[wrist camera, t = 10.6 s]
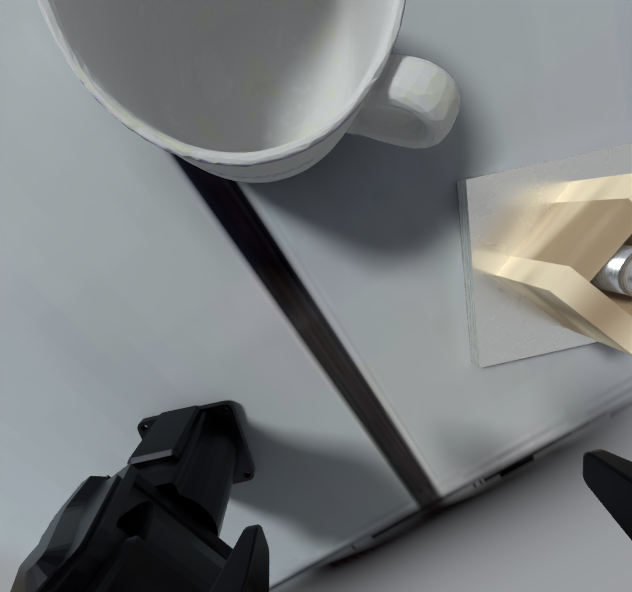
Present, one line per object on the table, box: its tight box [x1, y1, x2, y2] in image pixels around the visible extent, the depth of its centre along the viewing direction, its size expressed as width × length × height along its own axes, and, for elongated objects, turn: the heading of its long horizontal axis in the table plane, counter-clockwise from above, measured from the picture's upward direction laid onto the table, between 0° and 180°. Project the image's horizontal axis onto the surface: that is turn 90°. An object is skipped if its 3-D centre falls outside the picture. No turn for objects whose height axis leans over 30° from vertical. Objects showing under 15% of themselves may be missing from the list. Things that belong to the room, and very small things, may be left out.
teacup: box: [37, 0, 460, 183], centre depth 12 cm, size 14×11×8 cm
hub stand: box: [457, 143, 632, 368], centre depth 16 cm, size 12×12×6 cm
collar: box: [496, 173, 632, 355], centre depth 16 cm, size 6×6×4 cm
